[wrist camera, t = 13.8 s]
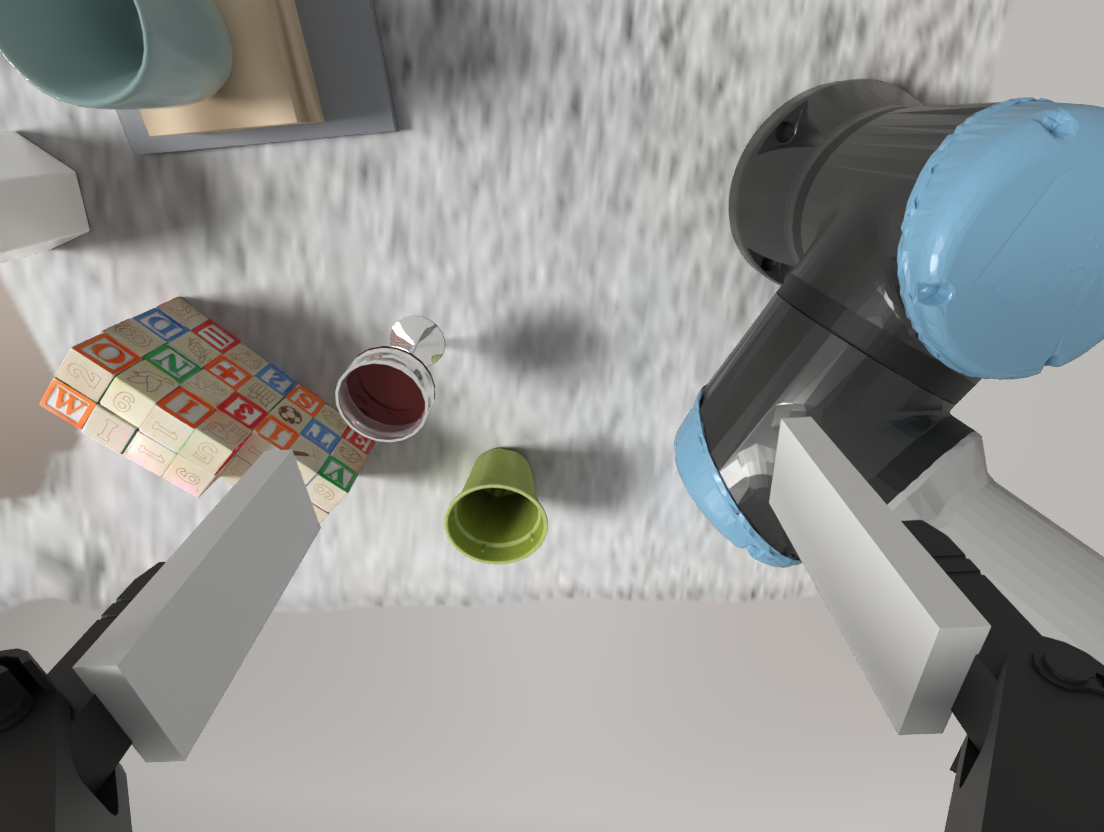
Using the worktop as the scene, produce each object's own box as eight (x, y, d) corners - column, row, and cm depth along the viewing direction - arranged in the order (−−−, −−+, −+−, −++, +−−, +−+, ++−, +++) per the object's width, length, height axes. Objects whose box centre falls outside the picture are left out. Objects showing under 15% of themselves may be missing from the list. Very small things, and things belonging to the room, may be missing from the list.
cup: (162, 122, 35) (35, 123, 26) (92, -27, 31) (-83, -82, 23) (274, 97, 35) (181, 90, 26) (216, -58, 31) (84, -127, 22)
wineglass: (375, 365, 50) (330, 431, 40) (385, 297, 47) (338, 348, 37) (447, 383, 51) (421, 452, 41) (461, 317, 48) (437, 373, 38)
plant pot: (565, 481, 57) (567, 537, 49) (494, 520, 59) (486, 579, 52) (512, 417, 53) (507, 467, 45) (439, 462, 56) (422, 516, 48)
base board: (357, -78, 35) (353, -83, 34) (398, 130, 41) (394, 131, 40) (61, -46, 36) (49, -50, 35) (143, 154, 42) (134, 155, 41)
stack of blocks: (379, 438, 54) (337, 517, 44) (344, 475, 57) (296, 559, 46) (177, 294, 47) (66, 346, 36) (146, 342, 49) (33, 406, 38)
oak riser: (281, -54, 35) (242, -78, 30) (325, 121, 40) (297, 122, 35) (131, -38, 35) (72, -60, 31) (193, 134, 40) (149, 136, 36)
